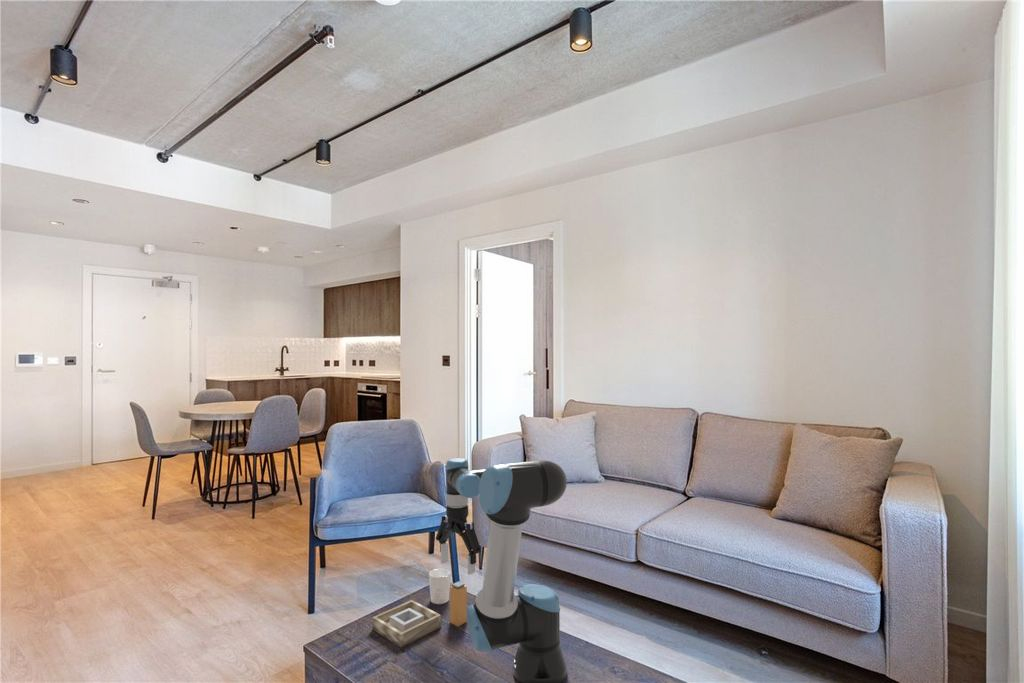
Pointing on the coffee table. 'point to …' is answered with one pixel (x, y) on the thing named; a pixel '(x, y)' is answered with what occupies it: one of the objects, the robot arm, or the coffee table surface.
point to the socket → (404, 615)
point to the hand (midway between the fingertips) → (457, 567)
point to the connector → (458, 603)
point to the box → (403, 638)
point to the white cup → (439, 585)
